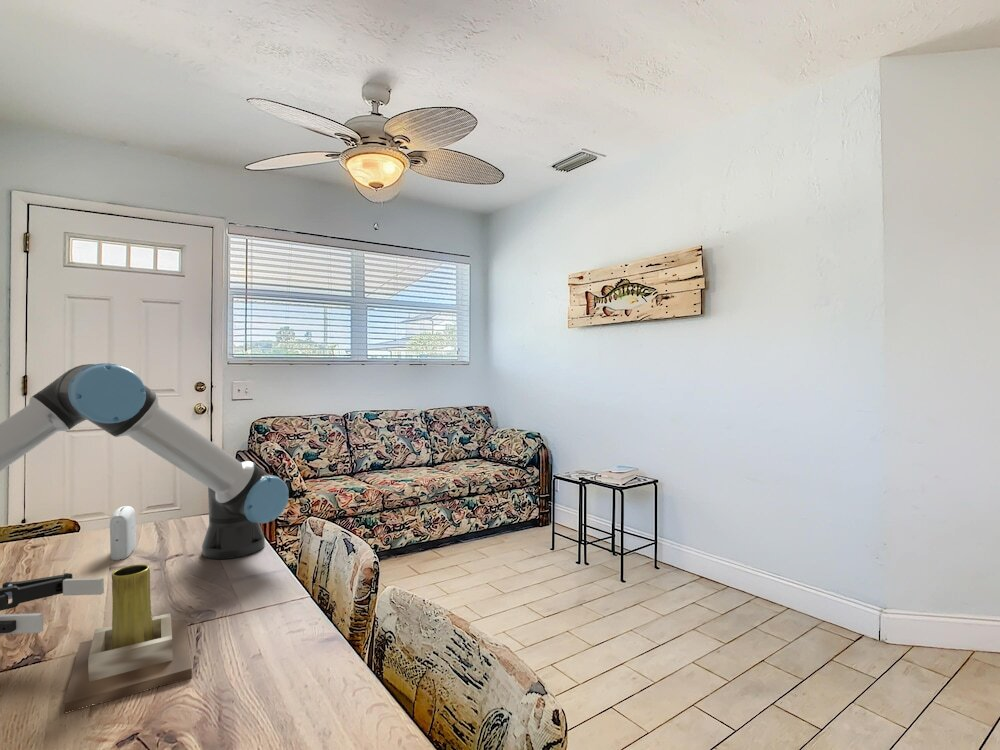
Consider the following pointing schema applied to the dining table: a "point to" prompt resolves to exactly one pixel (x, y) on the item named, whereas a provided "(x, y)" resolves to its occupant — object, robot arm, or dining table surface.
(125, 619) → the vase
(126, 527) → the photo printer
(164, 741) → the dining table surface
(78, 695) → the stand
